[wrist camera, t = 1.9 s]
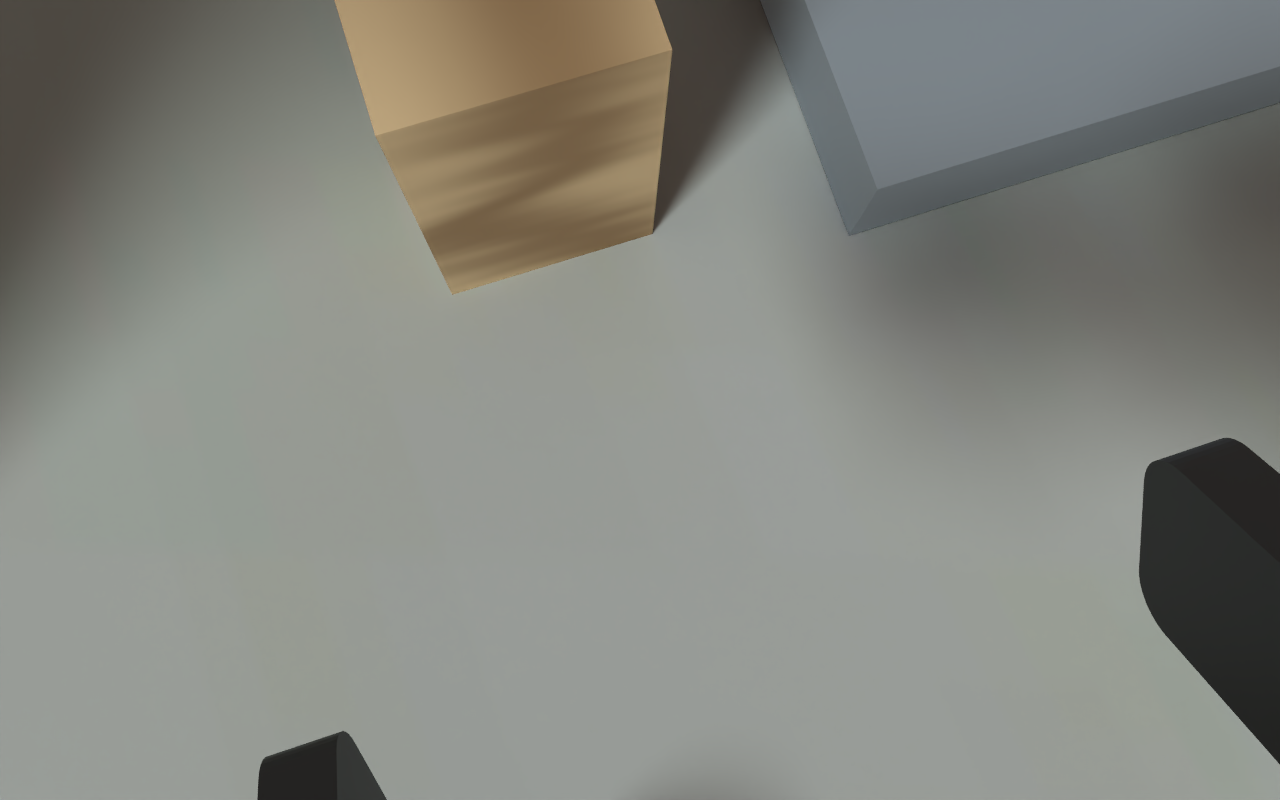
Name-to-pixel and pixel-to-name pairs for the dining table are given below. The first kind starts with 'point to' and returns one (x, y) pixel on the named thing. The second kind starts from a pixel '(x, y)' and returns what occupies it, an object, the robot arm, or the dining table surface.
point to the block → (516, 123)
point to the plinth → (1008, 87)
